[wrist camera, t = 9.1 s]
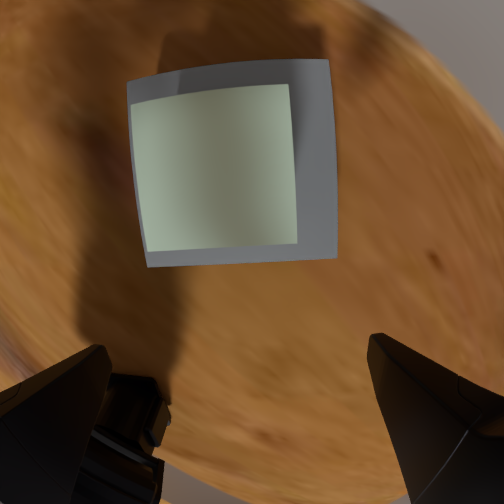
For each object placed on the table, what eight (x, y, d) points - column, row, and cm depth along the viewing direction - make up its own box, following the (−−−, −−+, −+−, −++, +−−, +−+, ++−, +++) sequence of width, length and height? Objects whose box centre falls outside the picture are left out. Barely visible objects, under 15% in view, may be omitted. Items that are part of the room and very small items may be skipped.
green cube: (184, 218, 14) (147, 251, 10) (174, 118, 13) (130, 104, 8) (286, 212, 14) (297, 243, 9) (280, 108, 12) (288, 84, 8)
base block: (169, 244, 19) (147, 267, 15) (153, 93, 16) (126, 81, 12) (323, 236, 18) (337, 258, 15) (315, 78, 15) (328, 59, 12)
